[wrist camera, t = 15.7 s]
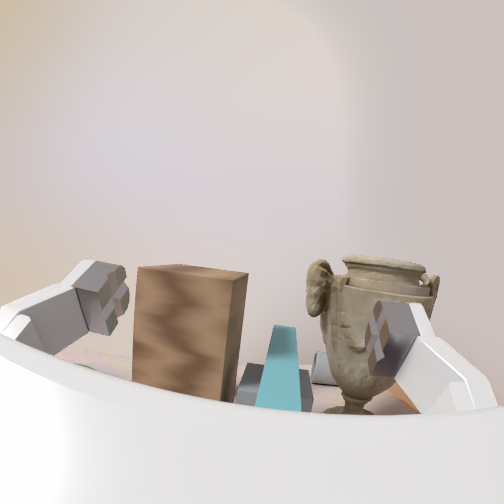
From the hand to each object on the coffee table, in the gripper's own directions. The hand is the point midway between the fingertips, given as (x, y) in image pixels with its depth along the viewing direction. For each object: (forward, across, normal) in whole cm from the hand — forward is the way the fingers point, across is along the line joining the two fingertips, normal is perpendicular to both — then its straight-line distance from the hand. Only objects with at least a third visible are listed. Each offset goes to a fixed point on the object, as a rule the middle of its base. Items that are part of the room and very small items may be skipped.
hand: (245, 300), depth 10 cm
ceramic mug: (+41, +16, -56) cm, 71 cm away
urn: (+19, +18, -43) cm, 50 cm away
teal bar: (+12, +3, -20) cm, 24 cm away
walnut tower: (+6, -7, -35) cm, 37 cm away
